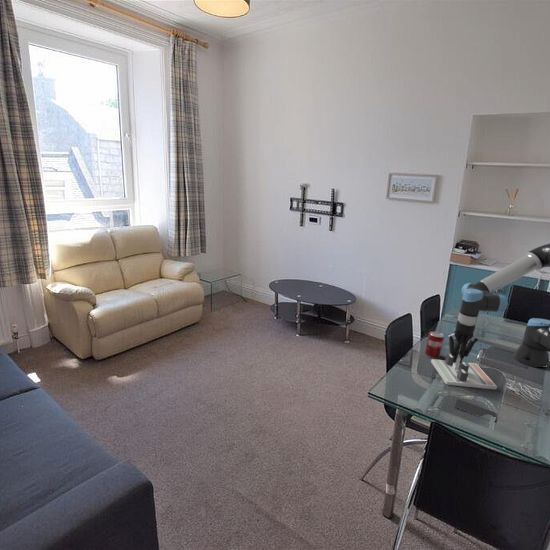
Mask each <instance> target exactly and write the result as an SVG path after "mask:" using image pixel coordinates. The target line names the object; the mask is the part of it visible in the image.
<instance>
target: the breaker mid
mask: <svg viewBox="0 0 550 550" xmlns="http://www.w3.org/2000/svg"><path fill="white" fill-rule="evenodd" d="M467 363H468V362H466V363H464V361H462V363H460V364H459V368H458V370H461V369H463V370H466V372H467V373H468V369H469V366H468V364H467Z"/></svg>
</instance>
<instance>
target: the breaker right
mask: <svg viewBox="0 0 550 550" xmlns="http://www.w3.org/2000/svg"><path fill="white" fill-rule="evenodd" d="M467 377H468V373H467V372H466V370H463V369H461V370H458V374H457V378H458V380H459V381H466V380H467Z"/></svg>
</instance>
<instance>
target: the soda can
mask: <svg viewBox="0 0 550 550" xmlns="http://www.w3.org/2000/svg"><path fill="white" fill-rule="evenodd" d="M444 340H445V335H444V334H443V333H441V332H439V331H430V332H429V333H428V336H427V341H426V346H425V350H424V354H425V356H427V357H428V358H431V359H436V360H437V359H439V358H440V357H441V354H442V348H443V345H444Z"/></svg>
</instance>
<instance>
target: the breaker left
mask: <svg viewBox="0 0 550 550" xmlns="http://www.w3.org/2000/svg"><path fill="white" fill-rule="evenodd" d="M452 359H453V356H452V355H451V353H449V354H448V353H447V354H446V356H445V362H446V364H447V365H453V361H452Z"/></svg>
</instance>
